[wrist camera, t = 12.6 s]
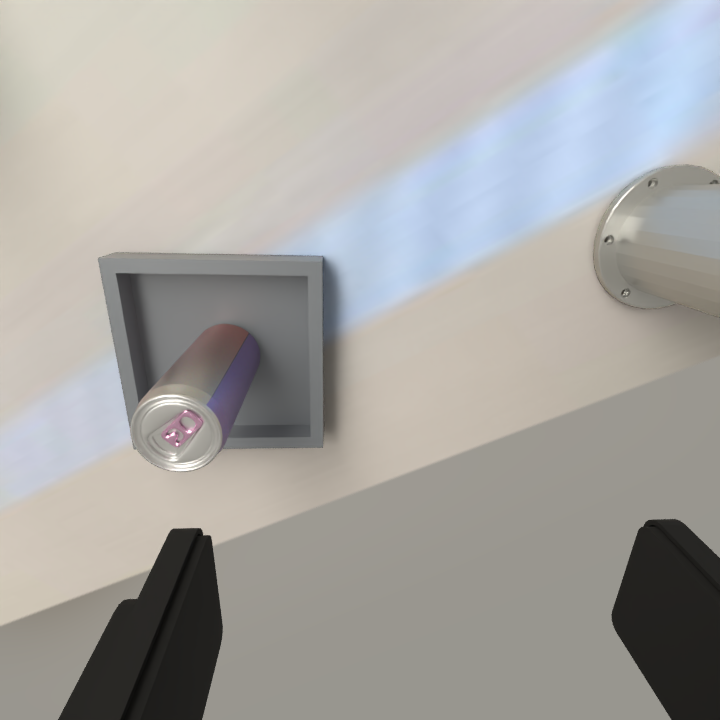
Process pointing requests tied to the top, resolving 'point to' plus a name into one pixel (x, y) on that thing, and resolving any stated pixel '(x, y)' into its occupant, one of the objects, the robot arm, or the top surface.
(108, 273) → the tray
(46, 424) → the top surface
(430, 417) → the top surface
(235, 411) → the beverage can
